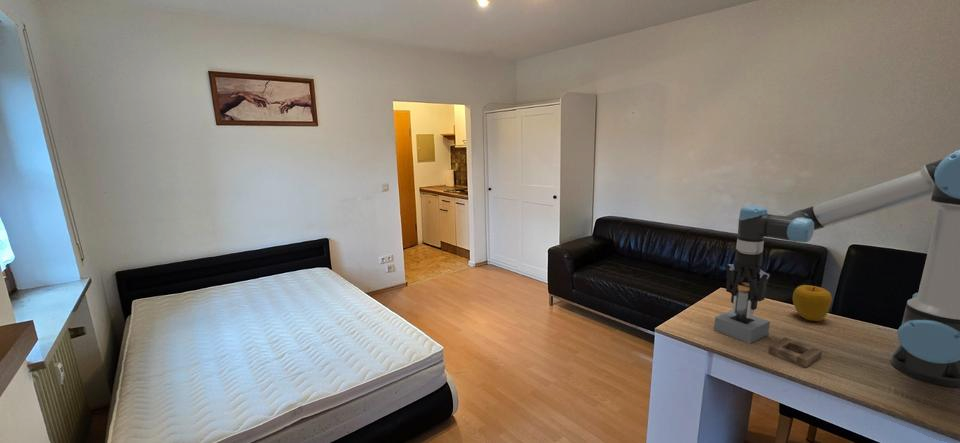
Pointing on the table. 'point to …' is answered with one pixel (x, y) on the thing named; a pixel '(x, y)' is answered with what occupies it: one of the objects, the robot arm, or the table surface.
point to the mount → (803, 359)
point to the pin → (742, 302)
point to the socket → (742, 327)
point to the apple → (812, 302)
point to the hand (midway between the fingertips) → (742, 314)
